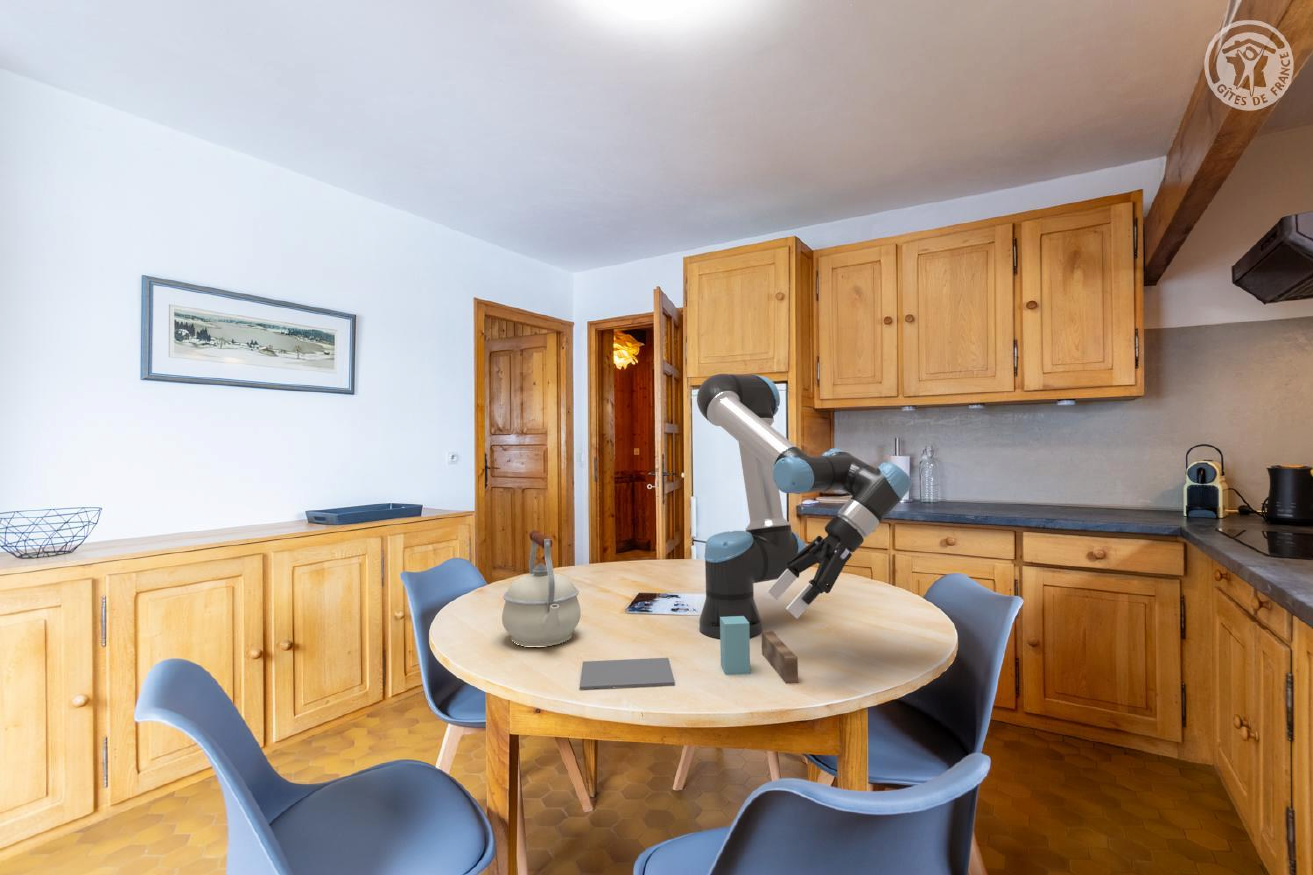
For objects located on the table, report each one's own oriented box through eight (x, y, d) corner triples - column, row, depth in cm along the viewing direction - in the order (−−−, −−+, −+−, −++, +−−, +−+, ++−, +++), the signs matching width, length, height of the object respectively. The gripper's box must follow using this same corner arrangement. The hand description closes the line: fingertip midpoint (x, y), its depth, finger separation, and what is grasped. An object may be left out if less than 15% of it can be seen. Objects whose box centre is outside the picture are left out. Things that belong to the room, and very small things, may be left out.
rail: (762, 654, 130) (761, 631, 130) (772, 654, 130) (772, 631, 130) (785, 684, 114) (785, 658, 114) (798, 683, 114) (797, 657, 114)
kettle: (496, 630, 149) (494, 530, 149) (567, 620, 156) (566, 525, 156) (513, 664, 126) (511, 546, 126) (597, 651, 133) (595, 539, 133)
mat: (582, 664, 125) (582, 661, 125) (668, 660, 127) (668, 657, 127) (579, 689, 112) (579, 686, 112) (674, 685, 114) (674, 682, 114)
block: (720, 665, 123) (719, 616, 123) (744, 664, 124) (743, 615, 124) (725, 674, 118) (724, 624, 118) (750, 673, 119) (749, 623, 119)
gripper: (892, 550, 110) (815, 636, 109) (839, 530, 135) (776, 600, 134) (863, 522, 110) (786, 608, 108) (816, 507, 135) (752, 577, 133)
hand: (780, 604), depth 121 cm, fingers open, 13 cm apart
